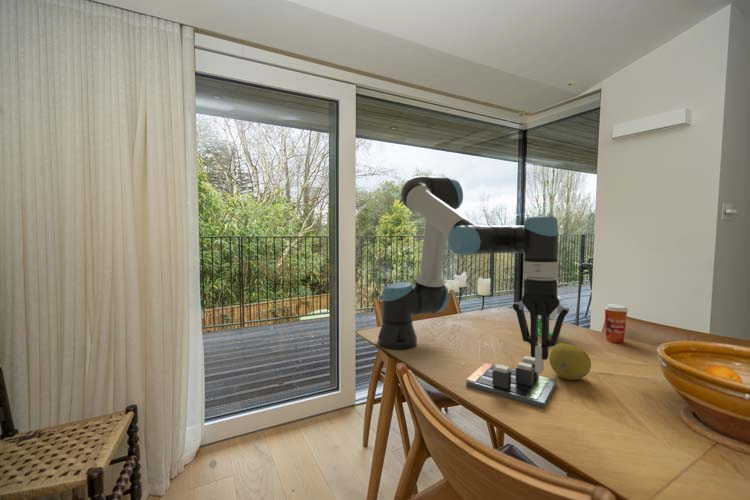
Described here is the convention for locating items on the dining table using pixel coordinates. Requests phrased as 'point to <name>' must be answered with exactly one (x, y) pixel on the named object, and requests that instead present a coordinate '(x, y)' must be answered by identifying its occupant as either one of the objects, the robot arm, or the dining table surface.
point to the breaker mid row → (525, 373)
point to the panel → (513, 387)
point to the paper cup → (615, 322)
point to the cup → (552, 316)
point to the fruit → (569, 361)
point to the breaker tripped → (502, 376)
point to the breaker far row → (531, 361)
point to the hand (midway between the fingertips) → (539, 370)
